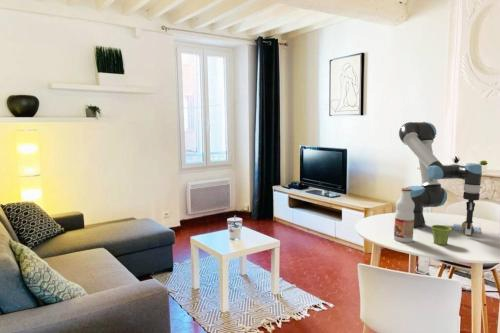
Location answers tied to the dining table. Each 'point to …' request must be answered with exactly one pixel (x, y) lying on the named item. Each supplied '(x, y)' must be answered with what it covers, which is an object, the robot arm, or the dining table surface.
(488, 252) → the dining table surface
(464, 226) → the ball
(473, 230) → the ball
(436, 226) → the plant pot
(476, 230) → the mark
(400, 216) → the fruit juice
